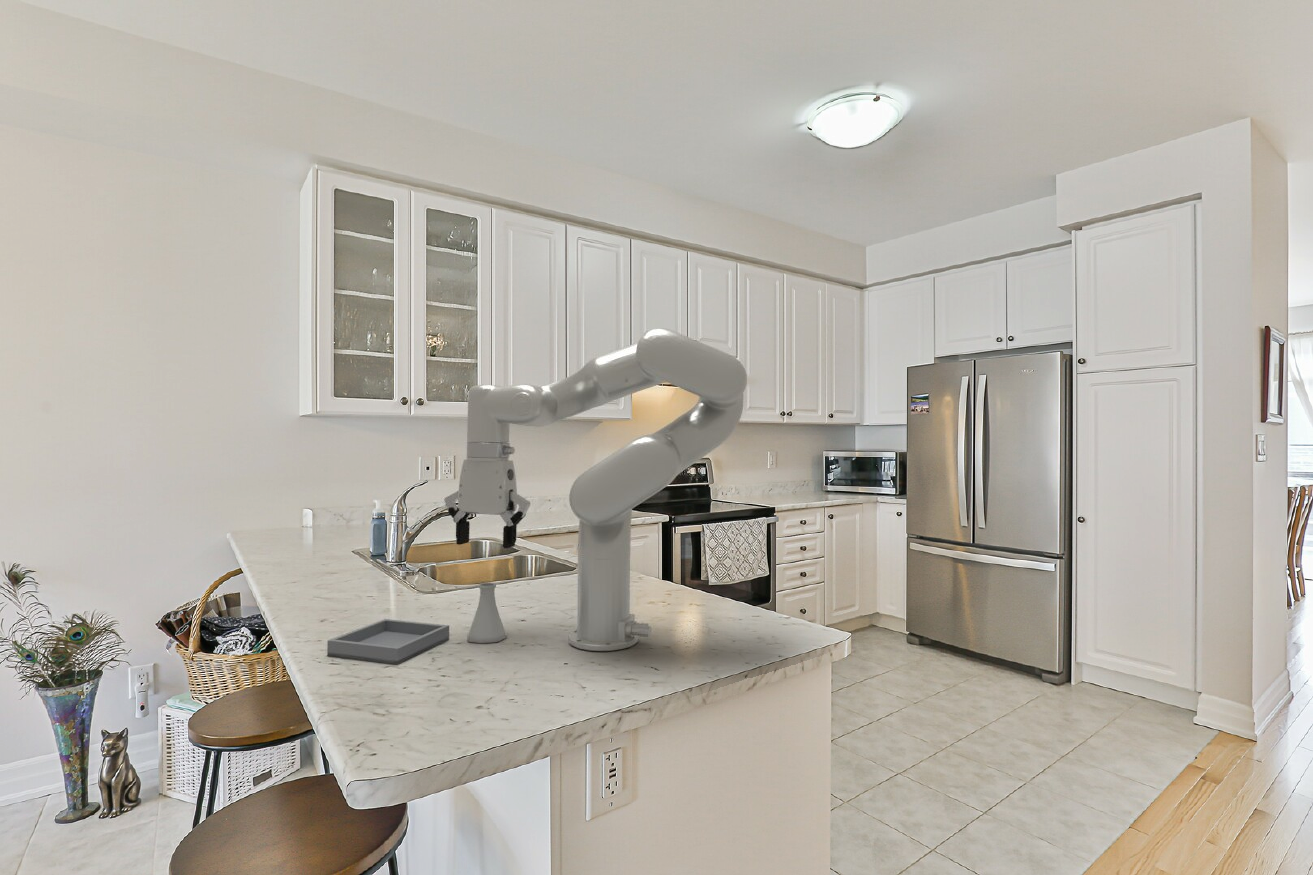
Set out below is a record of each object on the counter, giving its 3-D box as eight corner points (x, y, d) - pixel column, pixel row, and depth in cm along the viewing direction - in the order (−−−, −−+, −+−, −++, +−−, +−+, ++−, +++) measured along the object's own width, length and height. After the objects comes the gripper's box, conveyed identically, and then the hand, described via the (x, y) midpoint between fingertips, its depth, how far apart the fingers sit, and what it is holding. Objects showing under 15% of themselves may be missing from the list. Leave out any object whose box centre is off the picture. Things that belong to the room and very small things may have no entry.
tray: (449, 639, 118) (449, 625, 118) (397, 664, 105) (397, 648, 105) (385, 632, 122) (385, 618, 122) (327, 655, 109) (327, 640, 109)
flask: (501, 644, 116) (501, 588, 116) (461, 644, 116) (461, 588, 116) (511, 633, 123) (511, 580, 123) (473, 632, 123) (473, 579, 123)
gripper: (539, 453, 121) (537, 545, 120) (459, 451, 126) (456, 539, 126) (519, 454, 113) (517, 551, 113) (435, 451, 118) (432, 545, 118)
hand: (485, 545), depth 119 cm, fingers open, 9 cm apart
